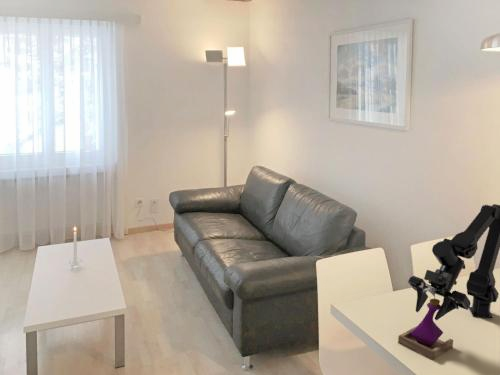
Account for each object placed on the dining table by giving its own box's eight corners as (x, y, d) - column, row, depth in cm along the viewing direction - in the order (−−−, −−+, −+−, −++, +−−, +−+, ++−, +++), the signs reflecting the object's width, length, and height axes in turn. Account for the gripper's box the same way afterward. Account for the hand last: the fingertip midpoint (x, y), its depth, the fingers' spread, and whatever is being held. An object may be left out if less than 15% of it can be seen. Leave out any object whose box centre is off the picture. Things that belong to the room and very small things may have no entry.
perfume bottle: (442, 341, 153) (447, 288, 149) (433, 351, 148) (437, 296, 144) (419, 333, 158) (423, 281, 154) (409, 342, 153) (413, 289, 149)
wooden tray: (418, 331, 160) (418, 324, 160) (452, 347, 151) (453, 340, 150) (398, 343, 154) (398, 335, 153) (432, 359, 144) (433, 352, 144)
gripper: (413, 251, 156) (390, 293, 152) (469, 269, 142) (445, 315, 138) (425, 268, 163) (403, 309, 158) (480, 287, 148) (457, 331, 144)
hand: (425, 315), depth 149 cm, fingers open, 6 cm apart
